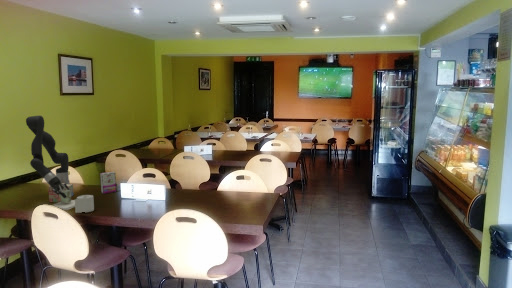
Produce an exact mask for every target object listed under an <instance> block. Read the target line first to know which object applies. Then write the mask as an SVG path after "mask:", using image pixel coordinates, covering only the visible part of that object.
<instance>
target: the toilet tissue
mask: <svg viewBox="0 0 512 288" xmlns="http://www.w3.org/2000/svg"><path fill="white" fill-rule="evenodd" d="M74 200H75V207H74V210H75V213H76V214H80V213H81V214H82V212H85V213H90V212H93V211H94V210H95V203H94V202H95V201H94V195H93V194H82V195H78V196H77V197H76V199H74Z"/></svg>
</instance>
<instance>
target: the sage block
mask: <svg viewBox="0 0 512 288" xmlns="http://www.w3.org/2000/svg"><path fill="white" fill-rule="evenodd" d="M63 193H64V194H65V195H66V196H67V197H66V198H63V197H62V195H60V197H61V201H60V202H61V203H68V202H71V200H72V196H71V191H69V190H64V191H63Z"/></svg>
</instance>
